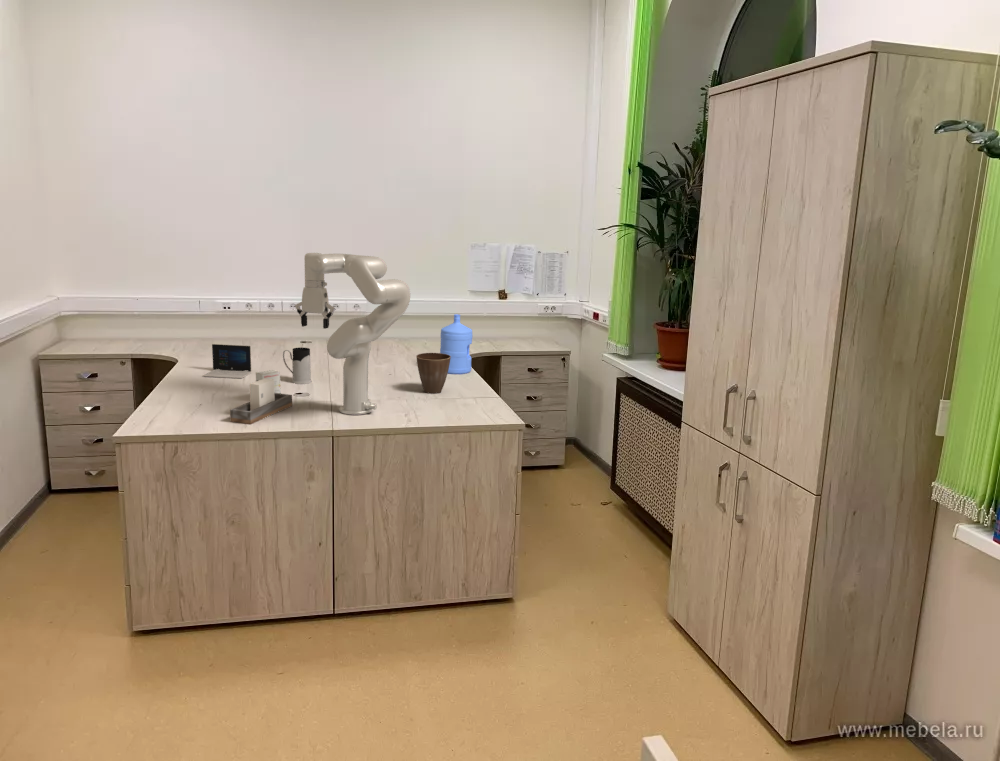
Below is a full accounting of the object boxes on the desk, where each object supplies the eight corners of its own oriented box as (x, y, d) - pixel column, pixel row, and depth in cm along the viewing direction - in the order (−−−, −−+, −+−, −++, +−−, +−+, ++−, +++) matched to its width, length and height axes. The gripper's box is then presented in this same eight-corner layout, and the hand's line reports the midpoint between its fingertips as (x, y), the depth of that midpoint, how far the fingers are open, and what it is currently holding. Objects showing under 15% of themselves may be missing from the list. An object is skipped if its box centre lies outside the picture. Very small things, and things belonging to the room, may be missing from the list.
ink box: (263, 402, 305) (262, 374, 303) (255, 400, 309) (254, 372, 306) (281, 399, 312) (280, 371, 309) (274, 396, 315) (273, 369, 312)
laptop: (202, 377, 343) (200, 349, 340) (213, 371, 355) (212, 343, 352) (241, 379, 343) (240, 350, 340) (251, 373, 355) (250, 345, 352)
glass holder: (304, 385, 337) (303, 351, 333) (277, 381, 342) (276, 348, 338) (315, 381, 344) (315, 348, 341) (289, 377, 350) (289, 345, 346)
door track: (292, 405, 303) (291, 394, 302) (250, 424, 277) (250, 412, 276) (273, 403, 305) (273, 392, 304) (230, 421, 279) (230, 409, 278)
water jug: (448, 375, 367) (449, 317, 361) (434, 368, 380) (435, 313, 374) (476, 373, 375) (478, 316, 368) (462, 366, 388) (464, 311, 381)
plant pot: (444, 397, 326) (445, 360, 323) (411, 394, 329) (411, 357, 326) (453, 389, 341) (454, 354, 337) (421, 386, 343) (422, 351, 340)
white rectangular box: (274, 407, 295) (274, 379, 292) (259, 413, 285) (259, 385, 283) (265, 405, 296) (264, 378, 293) (250, 412, 287) (249, 383, 284)
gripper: (338, 285, 304) (339, 327, 307) (300, 282, 308) (301, 324, 312) (329, 286, 297) (329, 330, 300) (290, 283, 301) (291, 326, 305)
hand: (315, 327), depth 306 cm, fingers open, 9 cm apart
